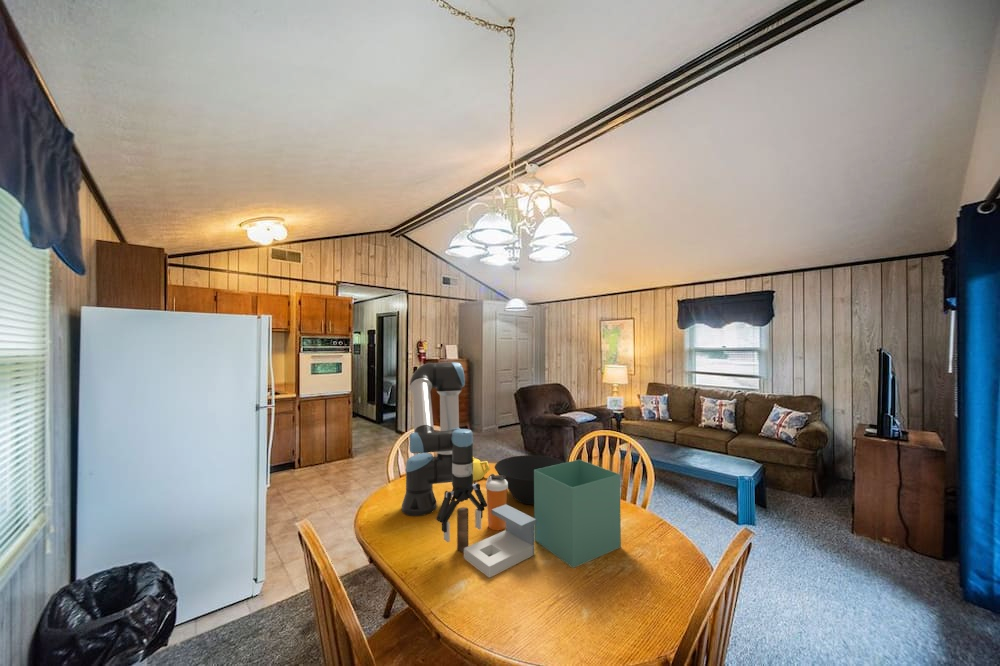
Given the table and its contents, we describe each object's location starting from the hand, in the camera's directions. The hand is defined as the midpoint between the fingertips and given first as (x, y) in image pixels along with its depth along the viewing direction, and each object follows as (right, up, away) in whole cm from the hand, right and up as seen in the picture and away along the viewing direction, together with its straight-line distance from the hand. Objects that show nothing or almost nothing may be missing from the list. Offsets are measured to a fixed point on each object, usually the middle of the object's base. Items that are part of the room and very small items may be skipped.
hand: (462, 534), depth 134 cm
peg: (0, -5, 0) cm, 5 cm away
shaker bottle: (+12, -6, +17) cm, 21 cm away
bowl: (+29, -7, +44) cm, 53 cm away
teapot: (-2, -8, +70) cm, 70 cm away
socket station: (+13, -5, -5) cm, 15 cm away
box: (+41, -6, +4) cm, 42 cm away
